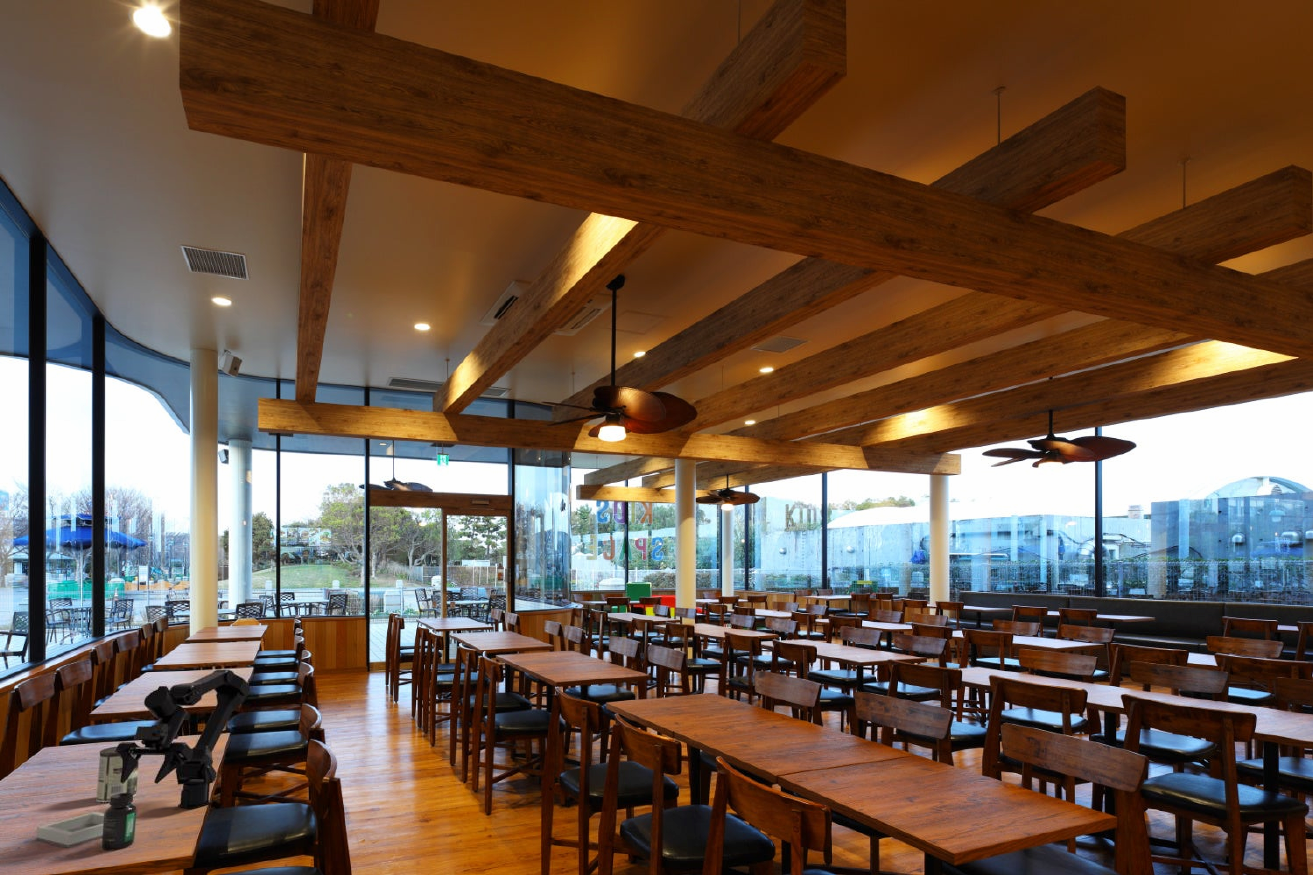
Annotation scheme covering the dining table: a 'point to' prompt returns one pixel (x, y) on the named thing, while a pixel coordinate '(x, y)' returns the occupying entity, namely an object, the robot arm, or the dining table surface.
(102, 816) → the tray
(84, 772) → the dining table surface
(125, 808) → the supplement bottle
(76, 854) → the dining table surface
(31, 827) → the dining table surface
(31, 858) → the dining table surface
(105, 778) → the coffee can
